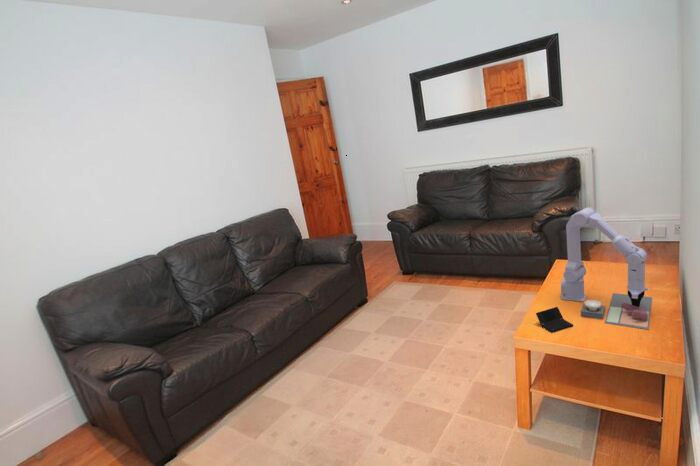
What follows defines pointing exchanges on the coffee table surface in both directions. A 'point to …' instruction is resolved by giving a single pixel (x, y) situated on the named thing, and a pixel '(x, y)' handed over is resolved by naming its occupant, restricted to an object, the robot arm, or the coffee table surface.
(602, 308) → the button housing
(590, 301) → the button
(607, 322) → the grey flat board
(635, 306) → the video game controller
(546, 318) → the handheld gaming console
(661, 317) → the coffee table surface
